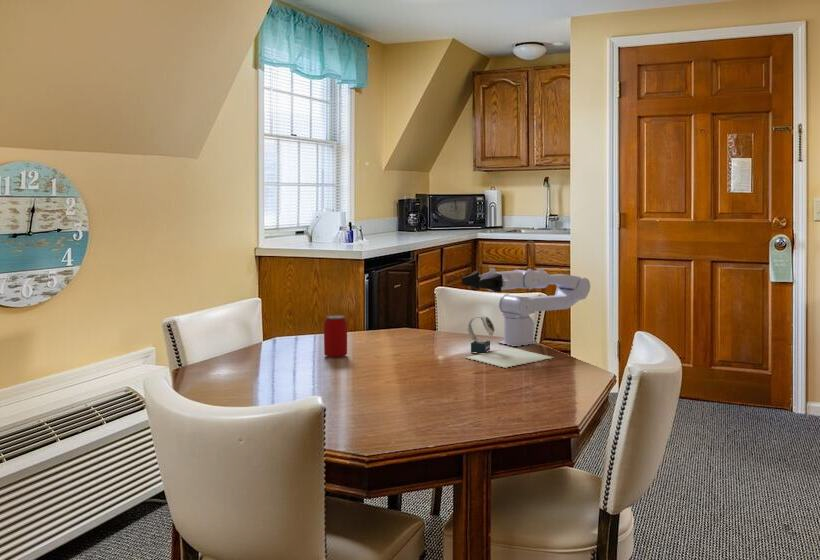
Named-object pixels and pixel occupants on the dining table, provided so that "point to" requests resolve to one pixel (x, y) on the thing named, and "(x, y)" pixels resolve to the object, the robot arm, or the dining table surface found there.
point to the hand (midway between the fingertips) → (470, 282)
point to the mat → (508, 357)
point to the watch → (481, 345)
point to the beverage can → (335, 336)
